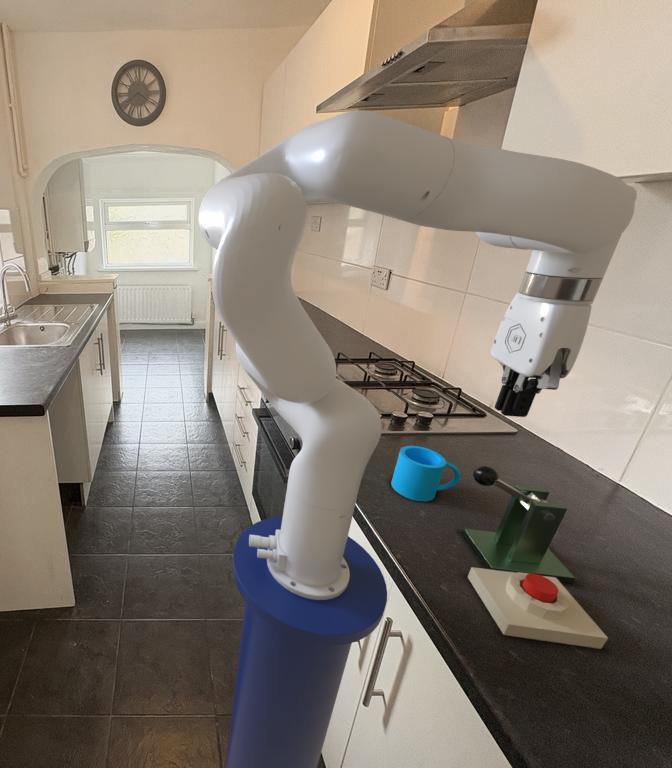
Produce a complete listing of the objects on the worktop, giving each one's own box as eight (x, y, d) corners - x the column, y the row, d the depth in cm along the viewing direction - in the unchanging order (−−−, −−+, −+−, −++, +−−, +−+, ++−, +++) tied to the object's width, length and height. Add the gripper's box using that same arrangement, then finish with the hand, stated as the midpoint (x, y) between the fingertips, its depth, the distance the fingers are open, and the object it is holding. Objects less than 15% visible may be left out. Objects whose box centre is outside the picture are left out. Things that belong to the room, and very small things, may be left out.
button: (531, 601, 59) (536, 592, 58) (516, 580, 62) (520, 571, 61) (560, 605, 58) (565, 596, 58) (543, 583, 62) (547, 575, 61)
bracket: (489, 572, 68) (516, 511, 63) (462, 533, 76) (484, 475, 71) (572, 583, 66) (607, 520, 61) (535, 541, 74) (563, 483, 69)
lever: (474, 483, 65) (490, 469, 64) (464, 472, 68) (479, 458, 67) (542, 522, 66) (559, 509, 65) (529, 509, 69) (545, 496, 67)
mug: (398, 498, 85) (407, 465, 82) (386, 475, 92) (394, 443, 89) (462, 506, 83) (475, 472, 80) (445, 481, 90) (456, 449, 87)
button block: (503, 635, 58) (513, 615, 56) (467, 577, 67) (474, 558, 65) (601, 649, 56) (614, 629, 55) (550, 587, 65) (560, 568, 64)
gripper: (492, 278, 62) (457, 390, 69) (567, 299, 48) (513, 436, 55) (549, 279, 61) (507, 393, 68) (642, 302, 47) (576, 441, 54)
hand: (510, 412), depth 62 cm, fingers closed
